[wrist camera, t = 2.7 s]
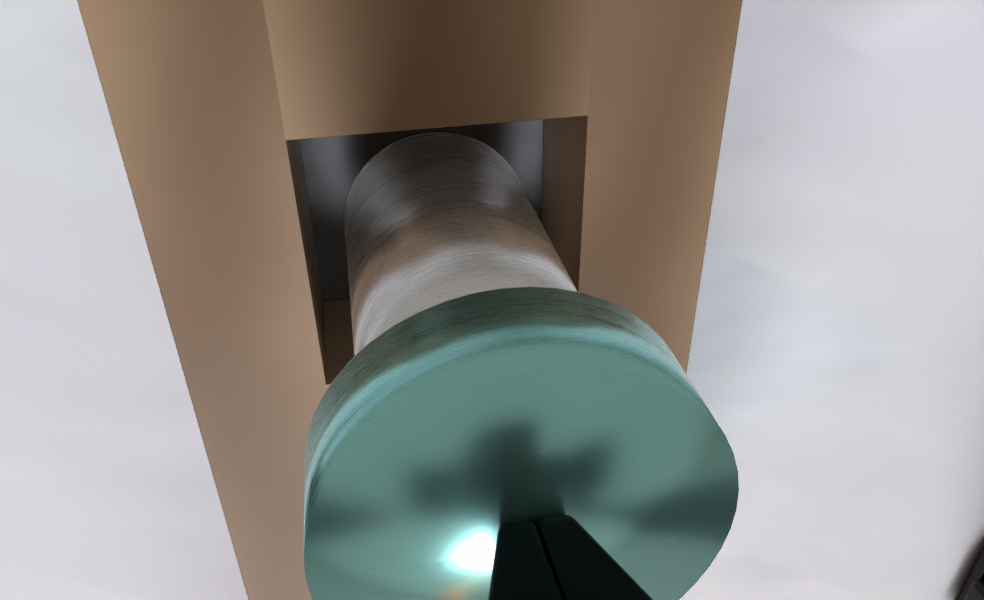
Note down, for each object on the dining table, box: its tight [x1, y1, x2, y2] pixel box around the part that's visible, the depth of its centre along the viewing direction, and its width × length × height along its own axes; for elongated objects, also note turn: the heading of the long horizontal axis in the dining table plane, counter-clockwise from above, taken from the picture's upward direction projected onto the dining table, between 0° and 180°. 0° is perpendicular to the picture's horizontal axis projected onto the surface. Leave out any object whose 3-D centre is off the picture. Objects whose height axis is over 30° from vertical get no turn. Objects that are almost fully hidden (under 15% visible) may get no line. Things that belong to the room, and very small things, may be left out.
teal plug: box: [304, 132, 739, 600], centre depth 12 cm, size 5×5×8 cm
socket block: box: [77, 0, 742, 600], centre depth 19 cm, size 10×26×3 cm, turn 1°
